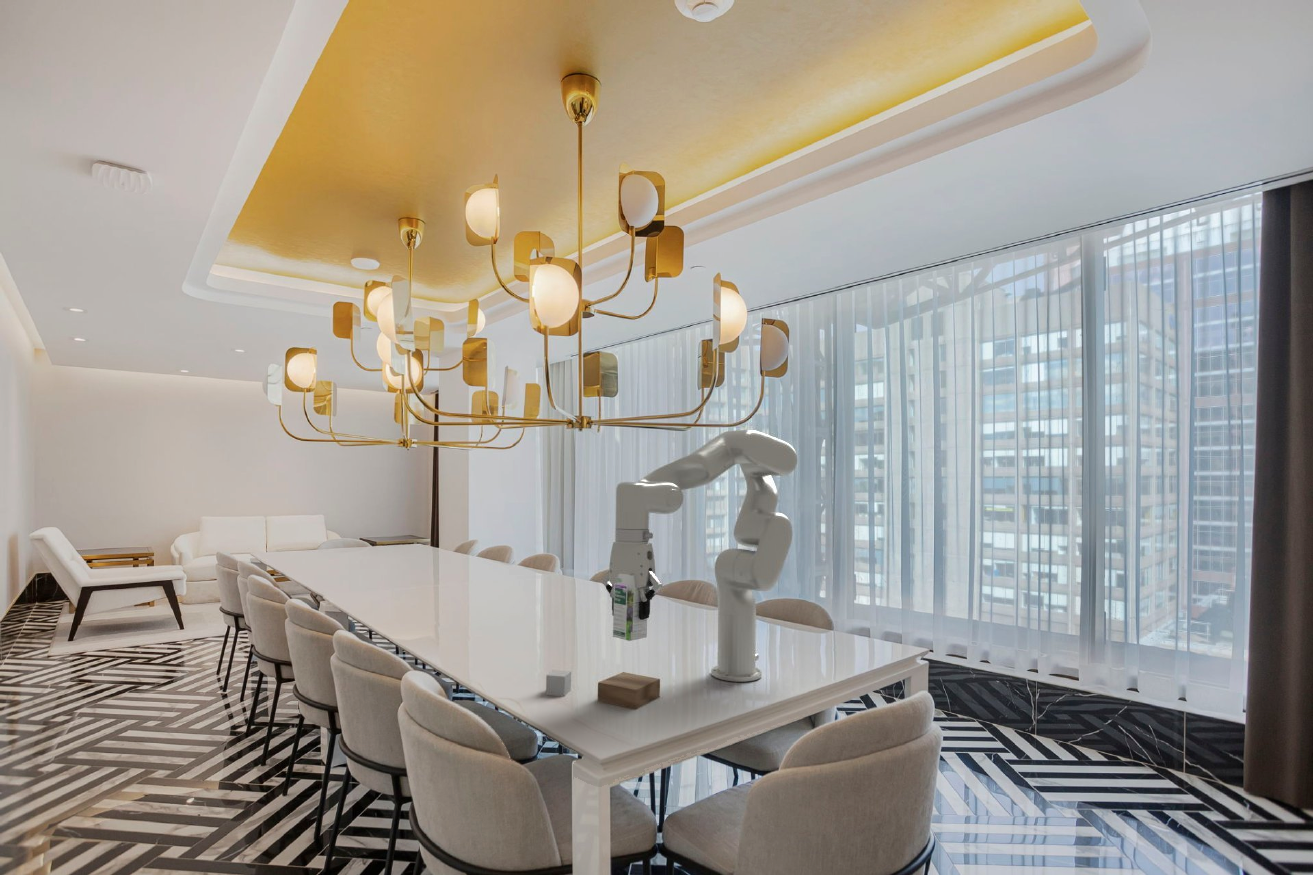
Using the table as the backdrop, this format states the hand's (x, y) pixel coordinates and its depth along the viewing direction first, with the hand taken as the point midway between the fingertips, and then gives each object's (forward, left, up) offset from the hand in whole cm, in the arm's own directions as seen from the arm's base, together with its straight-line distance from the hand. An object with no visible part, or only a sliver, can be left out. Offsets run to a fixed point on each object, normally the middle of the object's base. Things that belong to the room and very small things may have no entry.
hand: (630, 616), depth 155 cm
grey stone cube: (+5, -16, -18) cm, 25 cm away
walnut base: (0, 0, -18) cm, 18 cm away
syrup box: (0, 0, -5) cm, 5 cm away
